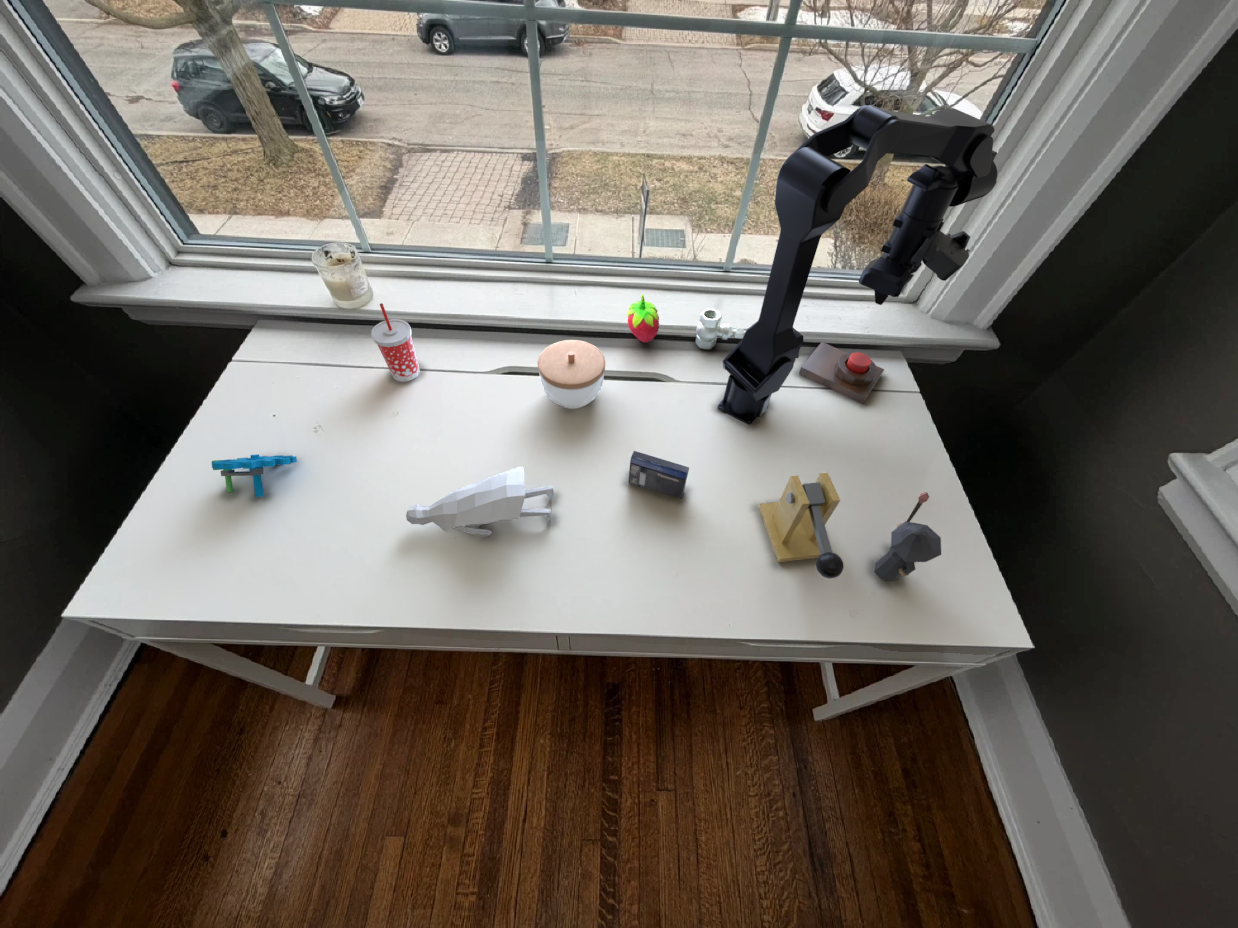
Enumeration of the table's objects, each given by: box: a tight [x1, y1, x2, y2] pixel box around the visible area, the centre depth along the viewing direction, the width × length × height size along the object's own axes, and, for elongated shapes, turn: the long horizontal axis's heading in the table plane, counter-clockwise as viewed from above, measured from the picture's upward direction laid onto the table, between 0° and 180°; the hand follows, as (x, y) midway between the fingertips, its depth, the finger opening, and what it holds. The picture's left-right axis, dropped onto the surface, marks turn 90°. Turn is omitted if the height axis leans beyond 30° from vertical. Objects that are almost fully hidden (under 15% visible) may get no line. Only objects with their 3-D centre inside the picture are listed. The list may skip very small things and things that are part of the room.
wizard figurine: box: [873, 491, 942, 581], centre depth 70 cm, size 8×6×12 cm
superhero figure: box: [405, 465, 554, 537], centre depth 74 cm, size 10×9×20 cm
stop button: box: [846, 351, 872, 374], centre depth 94 cm, size 4×4×2 cm
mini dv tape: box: [628, 450, 690, 500], centre depth 79 cm, size 8×2×6 cm, turn 70°
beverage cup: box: [370, 303, 421, 383], centre depth 89 cm, size 6×6×14 cm
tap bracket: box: [758, 472, 841, 563], centre depth 73 cm, size 9×7×11 cm
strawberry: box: [626, 293, 660, 343], centre depth 98 cm, size 6×7×10 cm
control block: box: [798, 341, 885, 405], centre depth 97 cm, size 12×9×4 cm
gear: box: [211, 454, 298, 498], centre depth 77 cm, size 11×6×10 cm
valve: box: [695, 308, 746, 350], centre depth 99 cm, size 7×7×12 cm
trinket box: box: [537, 339, 606, 410], centre depth 89 cm, size 11×11×9 cm
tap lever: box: [802, 481, 845, 579], centre depth 69 cm, size 12×3×3 cm, turn 8°
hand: (878, 303), depth 92 cm, fingers closed
